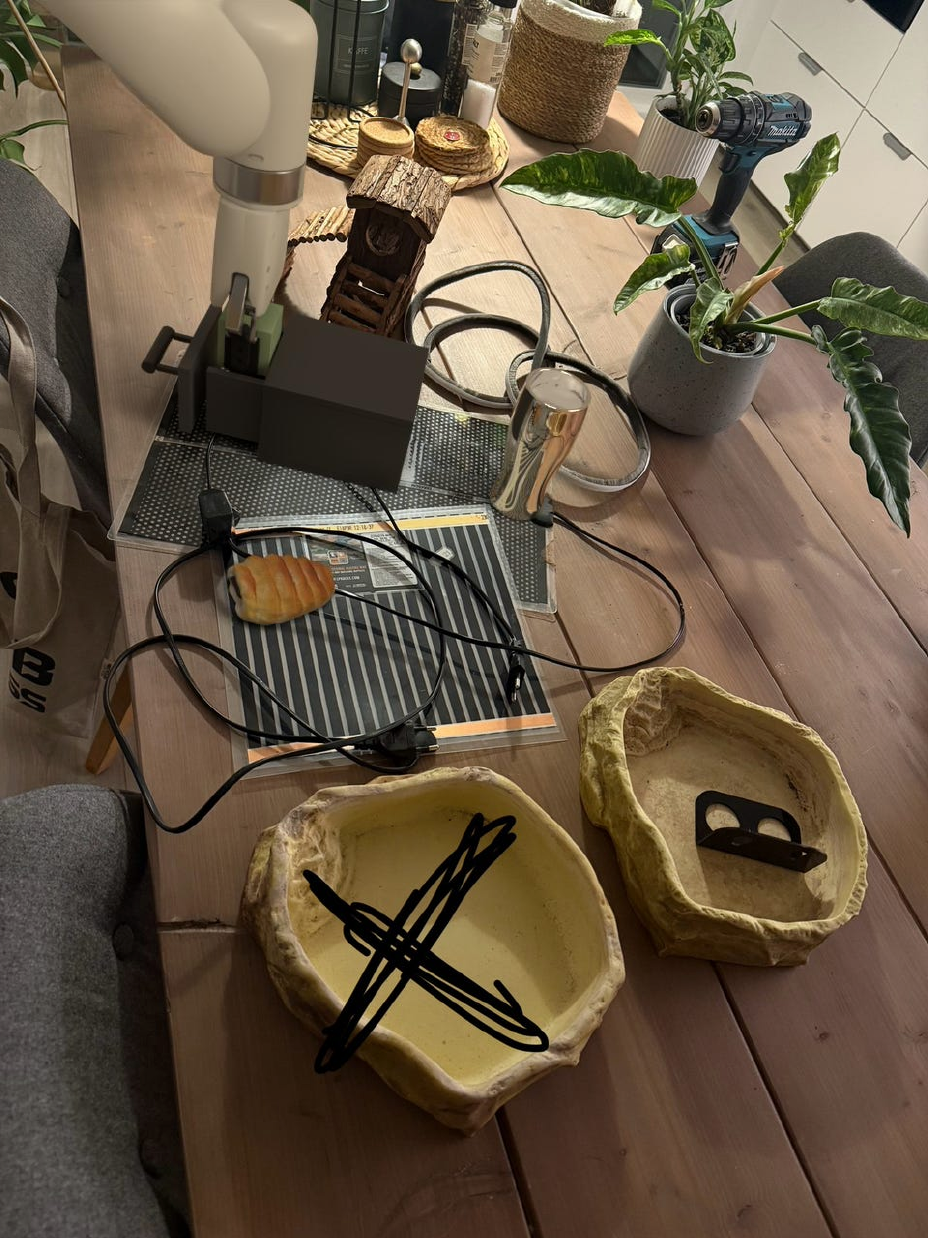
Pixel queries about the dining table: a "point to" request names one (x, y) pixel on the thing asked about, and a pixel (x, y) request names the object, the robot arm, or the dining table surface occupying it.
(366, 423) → the cabinet
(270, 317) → the block
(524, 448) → the beer glass
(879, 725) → the dining table surface
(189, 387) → the drawer
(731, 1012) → the dining table surface
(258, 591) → the pastry
